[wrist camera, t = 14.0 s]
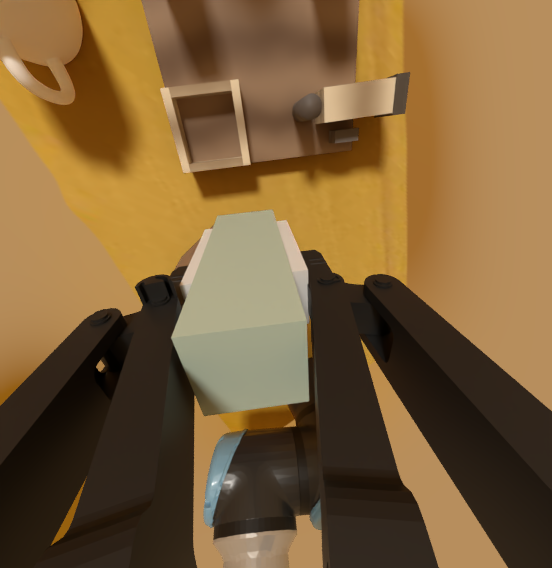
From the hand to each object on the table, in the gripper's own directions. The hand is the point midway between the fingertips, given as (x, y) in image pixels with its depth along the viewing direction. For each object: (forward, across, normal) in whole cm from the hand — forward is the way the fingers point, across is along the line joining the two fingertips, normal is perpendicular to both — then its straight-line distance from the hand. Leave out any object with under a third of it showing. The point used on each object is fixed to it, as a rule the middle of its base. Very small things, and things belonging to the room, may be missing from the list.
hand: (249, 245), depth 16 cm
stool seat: (+20, -3, -13) cm, 24 cm away
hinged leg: (+18, -12, -8) cm, 24 cm away
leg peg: (+1, 0, 0) cm, 1 cm away
